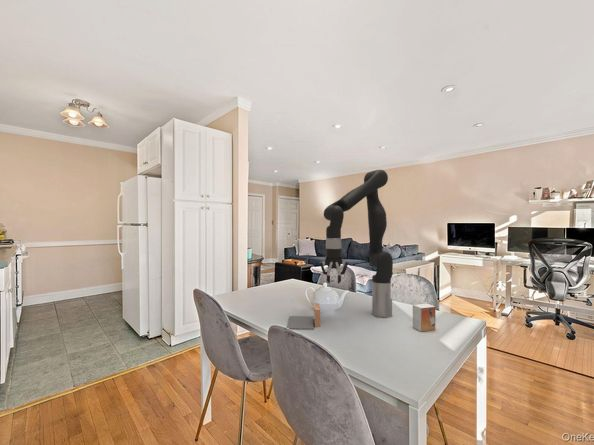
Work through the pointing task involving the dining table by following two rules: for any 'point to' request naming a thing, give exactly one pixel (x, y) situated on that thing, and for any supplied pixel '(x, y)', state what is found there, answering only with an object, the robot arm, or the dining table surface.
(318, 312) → the tile
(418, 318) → the small box
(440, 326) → the dining table surface
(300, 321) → the felt mat
